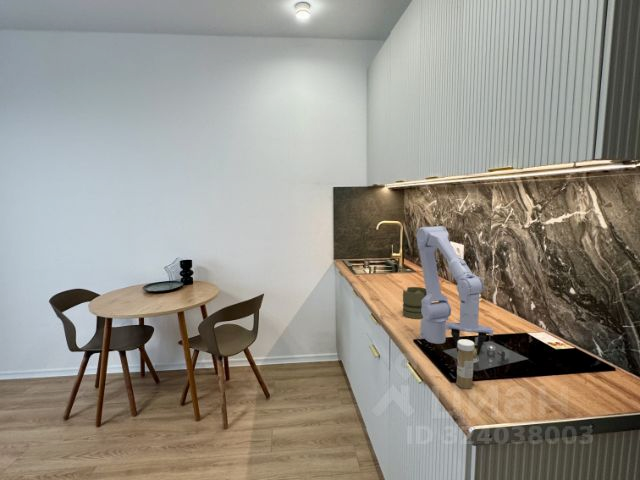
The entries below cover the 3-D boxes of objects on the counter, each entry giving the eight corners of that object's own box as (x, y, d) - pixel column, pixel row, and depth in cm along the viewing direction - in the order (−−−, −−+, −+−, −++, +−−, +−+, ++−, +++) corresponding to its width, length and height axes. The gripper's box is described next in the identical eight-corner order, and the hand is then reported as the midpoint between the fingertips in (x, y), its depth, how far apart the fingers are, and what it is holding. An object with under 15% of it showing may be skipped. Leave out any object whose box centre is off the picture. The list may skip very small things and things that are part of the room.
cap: (460, 347, 128) (460, 338, 127) (477, 350, 125) (478, 340, 125) (458, 358, 120) (458, 347, 119) (476, 361, 117) (476, 350, 117)
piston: (399, 291, 166) (408, 285, 176) (399, 316, 168) (407, 309, 177) (423, 294, 160) (431, 288, 170) (423, 321, 162) (431, 313, 171)
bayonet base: (442, 353, 129) (442, 341, 129) (490, 343, 137) (491, 332, 136) (475, 373, 114) (476, 360, 114) (528, 361, 122) (528, 349, 121)
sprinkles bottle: (453, 381, 110) (454, 339, 108) (468, 380, 110) (469, 338, 108) (460, 389, 105) (462, 345, 104) (475, 388, 106) (477, 344, 104)
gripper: (444, 314, 120) (444, 353, 122) (493, 319, 114) (492, 361, 116) (447, 308, 127) (446, 345, 128) (493, 312, 121) (491, 352, 122)
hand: (468, 352), depth 123 cm, fingers closed on cap, 5 cm apart
